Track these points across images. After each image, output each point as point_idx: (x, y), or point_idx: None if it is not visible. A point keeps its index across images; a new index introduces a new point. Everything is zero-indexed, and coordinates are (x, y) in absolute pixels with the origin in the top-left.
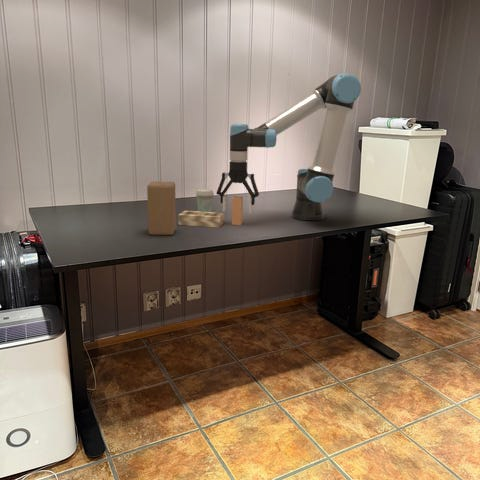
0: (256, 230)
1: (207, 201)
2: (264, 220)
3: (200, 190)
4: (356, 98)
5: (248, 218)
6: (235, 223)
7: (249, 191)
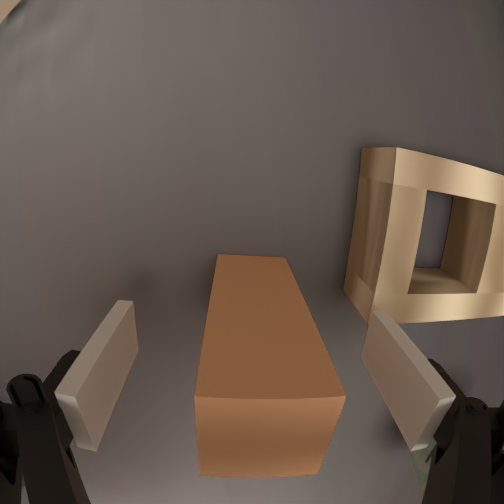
0: (92, 128)
1: None
2: None
3: None
4: None
5: None
6: (257, 259)
7: (45, 473)
